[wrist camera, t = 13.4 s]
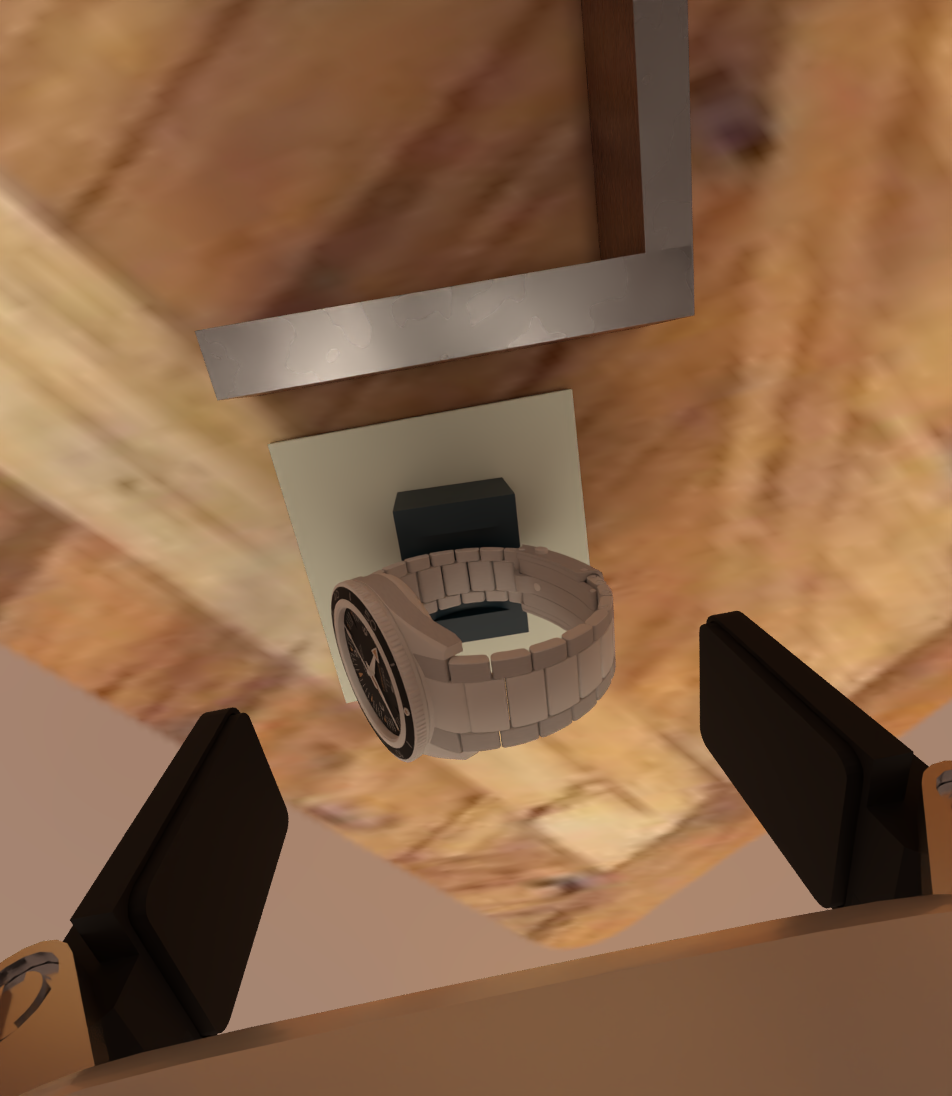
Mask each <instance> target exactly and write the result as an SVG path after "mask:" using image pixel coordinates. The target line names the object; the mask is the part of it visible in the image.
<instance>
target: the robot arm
mask: <svg viewBox="0 0 952 1096" xmlns="http://www.w3.org/2000/svg"><path fill="white" fill-rule="evenodd" d="M699 642H700V731H701V736H702V739H703V741H704V743H705V745H706V747H707V748H708V750H709V751H710V753H711V754H712V755H713V757H714V758H715V760H716V761H717V762H718V764H719V765H720V767H721V768H722V769H723V771H724V772H725V774H726V775H727V776H728V778H729V779H730V781H731V782H732V783H733V785H734V786H735V788H736V789H737V790H738V792H739V793H740V795H741V796H742V797H743V799H744V800H745V802H746V803H747V804H748V806H749V807H750V809H751V810H752V811H753V813H754V814H755V816H756V817H757V818H758V820H759V821H760V823H761V824H762V825H763V827H764V828H765V830H766V831H767V832H768V834H769V835H770V837H771V838H772V839H773V841H774V842H775V844H776V845H777V846H778V848H779V849H780V851H781V852H782V854H783V855H784V856H785V858H786V859H787V861H788V862H789V863H790V865H791V866H792V867H793V869H794V870H795V871H796V873H797V874H798V876H799V877H800V879H801V880H802V882H803V883H804V884H805V886H806V887H807V888H808V890H809V891H810V893H811V894H812V896H813V897H814V898H815V899H816V900H817V902H818V903H819V904H820V905H821V906H822V907H824V908H832V910H826V911H821V912H815V913H809V914H804V915H799V916H792V917H787V918H781V919H776V920H770V921H766V922H760V923H755V924H751V925H745V926H741V927H735V928H730V929H725V930H720V931H716V932H710V933H705V934H700V935H695V936H690V937H685V938H680V939H675V940H670V941H665V942H660V943H655V944H650V945H645V946H640V947H635V948H630V949H625V950H620V951H615V952H610V953H605V954H600V955H595V956H590V957H585V958H580V959H576V960H571V961H566V962H561V963H556V964H551V965H547V966H541V967H537V968H532V969H527V970H522V971H517V972H512V973H507V974H502V975H497V976H493V977H488V978H483V979H478V980H473V981H469V982H464V983H459V984H454V985H449V986H444V987H440V988H434V989H430V990H425V991H420V992H415V993H411V994H406V995H401V996H396V997H392V998H387V999H382V1000H377V1001H373V1002H368V1003H364V1004H358V1005H354V1006H349V1007H344V1008H340V1009H335V1010H330V1011H326V1012H321V1013H316V1014H311V1015H307V1016H302V1017H298V1018H293V1019H288V1020H283V1021H278V1022H274V1023H269V1024H264V1025H260V1026H255V1027H250V1028H246V1029H242V1030H237V1031H233V1032H228V1033H224V1034H220V1035H217V1034H218V1033H222V1032H223V1031H224V1030H225V1028H226V1027H227V1025H228V1023H229V1020H230V1018H231V1014H232V1011H233V1007H234V1004H235V1001H236V998H237V994H238V991H239V988H240V985H241V981H242V978H243V975H244V971H245V968H246V965H247V961H248V958H249V955H250V952H251V948H252V945H253V941H254V938H255V935H256V931H257V928H258V925H259V922H260V919H261V915H262V912H263V909H264V905H265V902H266V899H267V895H268V892H269V889H270V885H271V882H272V879H273V875H274V872H275V869H276V865H277V862H278V859H279V856H280V852H281V849H282V846H283V843H284V839H285V835H286V833H287V829H288V812H287V808H286V806H285V803H284V801H283V798H282V796H281V794H280V791H279V789H278V786H277V784H276V781H275V779H274V776H273V774H272V771H271V769H270V767H269V764H268V762H267V759H266V757H265V754H264V752H263V749H262V747H261V744H260V742H259V739H258V737H257V735H256V732H255V730H254V727H253V725H252V722H251V720H250V718H249V716H248V715H247V714H246V713H240V712H239V710H238V709H236V708H233V707H232V708H227V709H222V710H217V711H212V712H206V713H204V714H203V715H202V716H201V717H200V718H199V720H198V721H197V723H196V724H195V726H194V727H193V729H192V730H191V732H190V734H189V735H188V737H187V738H186V740H185V741H184V743H183V745H182V746H181V748H180V749H179V751H178V752H177V754H176V756H175V757H174V759H173V760H172V762H171V763H170V765H169V766H168V768H167V769H166V771H165V773H164V774H163V776H162V777H161V779H160V780H159V782H158V784H157V785H156V787H155V788H154V790H153V791H152V793H151V795H150V796H149V798H148V799H147V801H146V802H145V804H144V805H143V807H142V808H141V810H140V812H139V813H138V815H137V816H136V818H135V819H134V821H133V823H132V824H131V826H130V827H129V829H128V830H127V832H126V833H125V835H124V837H123V838H122V840H121V841H120V843H119V844H118V846H117V847H116V849H115V850H114V852H113V854H112V855H111V857H110V858H109V860H108V861H107V863H106V865H105V866H104V868H103V869H102V871H101V872H100V874H99V876H98V877H97V879H96V880H95V882H94V883H93V885H92V886H91V888H90V890H89V891H88V893H87V894H86V896H85V897H84V899H83V900H82V902H81V904H80V905H79V907H78V908H77V910H76V911H75V913H74V915H73V916H72V918H71V919H70V921H71V922H72V924H73V926H72V928H71V929H70V931H69V933H68V934H67V936H66V937H65V939H64V941H63V942H62V941H59V940H50V941H42V942H39V943H37V944H34V945H31V946H29V947H26V948H24V949H22V950H21V951H19V952H17V953H15V954H14V955H12V956H10V957H8V958H7V959H5V960H4V961H3V962H1V963H0V1096H952V761H942V762H939V763H936V764H932V765H931V766H930V767H929V766H927V765H926V764H925V763H924V762H922V761H921V760H920V759H919V758H918V757H916V756H915V755H914V754H913V751H911V749H909V748H908V747H907V746H906V745H904V744H903V743H902V742H901V741H899V740H898V739H897V738H896V737H895V736H893V735H892V734H891V733H890V732H888V731H887V730H886V729H885V728H883V727H882V726H881V725H880V724H879V723H877V722H876V721H875V720H874V719H872V718H871V717H870V716H869V715H867V714H866V713H865V712H864V711H863V710H861V709H860V708H859V707H858V706H856V705H855V704H854V703H853V702H851V701H850V700H849V699H848V698H847V697H845V696H844V695H843V694H842V693H840V692H839V691H838V690H837V689H835V688H834V687H833V686H832V685H830V684H829V683H828V682H827V681H826V680H824V679H823V678H822V677H821V676H819V675H818V674H817V673H816V672H814V671H813V670H812V669H811V668H810V667H808V666H807V665H806V664H805V663H803V662H802V661H801V660H800V659H798V658H797V657H796V656H795V655H794V654H792V653H791V652H790V651H789V650H787V649H786V648H785V647H784V646H782V645H781V644H780V643H779V642H778V641H776V640H775V639H774V638H773V637H771V636H770V635H769V634H768V633H766V632H765V631H764V630H763V629H762V628H760V627H759V626H758V625H757V624H755V623H754V622H753V621H752V620H750V619H749V618H748V617H747V616H746V615H744V614H743V613H741V612H740V611H733V612H728V613H722V614H717V615H712V616H710V617H708V619H707V622H706V624H703V625H701V627H700V632H699Z"/></svg>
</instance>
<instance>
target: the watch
mask: <svg viewBox="0 0 952 1096" xmlns="http://www.w3.org/2000/svg"><path fill="white" fill-rule="evenodd" d="M393 517H394V522H395V528H396V533H397V538H398V544H399V549H400V554H401V560H402V561H400V562H397V563H394V564H391V565H388V566H386V567H383V568H382V570H378V571H376V572H373V573H371V574H369V575H368V576H365V577H362V576H359V577H356V578H353V579H350V580H346V581H343V582H340V583H338V584H336V585H335V587H334V589H333V592H332V598H331V615H332V623H333V629H334V634H335V639H336V643H337V647H338V650H339V654H340V657H341V660H342V663H343V666H344V669H345V672H346V674H347V677H348V680H349V682H350V685H351V687H352V689H353V692H354V694H355V696H356V698H357V701H358V703H359V705H360V707H361V709H362V711H363V712H364V714H365V716H366V718H367V720H368V722H369V723H370V725H371V727H372V728H373V730H374V731H375V733H376V734H377V736H378V737H379V739H380V740H381V741H382V743H383V744H384V745H385V746H386V747H387V748H388V750H389V751H390V752H391V753H392V754H394V755H395V756H396V757H397V758H398V759H400V760H402V761H404V762H412V761H413V760H415V759H417V758H419V757H420V756H421V755H422V754H424V755H429V756H433V757H438V758H445V759H459V760H467V759H468V758H470V757H471V756H473V755H475V754H476V753H478V751H486V750H492V749H497V748H500V746H501V743H500V736H499V731H500V734H501V741H502V746H503V747H505V748H506V747H511V746H516V745H520V744H524V743H527V742H530V741H533V740H536V739H538V738H539V735H540V736H541V737H546V736H548V735H550V734H553V733H555V732H557V731H559V730H561V729H563V728H564V727H566V726H568V725H569V724H571V723H572V720H573V721H576V720H578V719H579V718H581V717H582V716H583V715H585V714H586V713H587V712H588V711H589V710H591V709H592V708H593V707H594V706H595V704H596V703H597V700H599V699H600V698H601V697H602V696H603V695H604V693H605V692H606V691H607V689H608V687H609V685H610V684H611V679H612V678H613V676H614V672H615V635H614V610H613V597H612V591H611V589H610V587H609V586H608V585H607V584H606V582H605V581H604V579H603V575H602V572H600V571H599V570H597V569H595V568H593V567H591V566H589V565H587V564H585V563H583V562H581V561H579V560H576V559H574V558H571V557H569V556H566V555H563V554H560V553H557V552H554V551H550V550H548V548H546V547H542V546H538V547H534V546H530V545H525V544H522V547H520V538H519V529H518V519H517V509H516V499H515V493H514V492H513V491H512V489H511V488H510V487H509V485H508V484H507V483H506V482H505V480H504V479H503V478H502V477H500V478H493V479H486V480H479V481H472V482H465V483H458V484H451V485H444V486H438V487H431V488H424V489H417V490H410V491H403V492H397V495H396V499H395V503H394V508H393ZM527 613H530V614H533V615H535V616H538V617H540V618H543V619H545V620H547V621H549V622H551V623H553V624H555V625H557V626H559V627H561V628H562V629H564V630H565V631H567V632H565V633H563V634H562V639H561V638H552V639H549V640H547V641H544V642H541V643H537V644H534V645H531V646H530V647H529V651H528V650H527V649H525V648H520V649H515V650H509V651H502V652H496V653H493V654H492V655H491V657H490V658H491V666H492V673H491V669H490V661H489V658H488V656H486V655H464V656H455V655H456V654H458V653H460V652H462V651H463V648H462V643H464V642H471V641H477V640H483V639H489V638H496V637H502V636H508V635H514V634H521V633H527V632H529V626H528V617H527ZM504 678H505V680H504ZM505 682H506V688H505ZM506 690H507V696H506ZM507 698H508V704H507ZM508 707H509V712H508ZM509 715H510V720H509Z"/></svg>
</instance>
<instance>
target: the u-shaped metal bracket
mask: <svg viewBox="0 0 952 1096" xmlns="http://www.w3.org/2000/svg"><path fill="white" fill-rule="evenodd" d="M581 6H582V20H583V33H584V46H585V59H586V72H587V85H588V98H589V111H590V124H591V137H592V151H593V164H594V177H595V190H596V203H597V216H598V229H599V242H600V255H601V261H595V262H589V263H584V264H578V265H572V266H566V267H561V268H555V269H549V270H543V271H537V272H532V273H526V274H520V275H514V276H509V277H503V278H497V279H491V280H486V281H480V282H474V283H468V284H463V285H457V286H451V287H445V288H440V289H434V290H428V291H422V292H416V293H411V294H405V295H399V296H393V297H388V298H382V299H376V300H370V301H365V302H359V303H353V304H347V305H342V306H336V307H330V308H324V309H319V310H313V311H307V312H301V313H295V314H290V315H284V316H278V317H272V318H267V319H261V320H255V321H249V322H244V323H238V324H232V325H226V326H221V327H215V328H209V329H203V330H198V331H195V333H196V336H197V339H198V342H199V345H200V348H201V352H202V355H203V358H204V361H205V364H206V367H207V370H208V373H209V376H210V379H211V382H212V385H213V388H214V391H215V394H216V397H217V400H225V399H234V398H243V397H252V396H260V395H266V394H271V393H277V392H283V391H288V390H294V389H299V388H305V387H311V386H316V385H322V384H327V383H333V382H338V381H344V380H350V379H355V378H361V377H366V376H372V375H378V374H383V373H389V372H394V371H400V370H406V369H411V368H417V367H422V366H428V365H434V364H439V363H445V362H450V361H456V360H461V359H467V358H473V357H478V356H484V355H489V354H495V353H501V352H506V351H512V350H517V349H523V348H529V347H534V346H540V345H545V344H551V343H557V342H562V341H568V340H573V339H579V338H585V337H590V336H596V335H601V334H607V333H612V332H618V331H624V330H629V329H635V328H640V327H645V326H650V325H654V324H658V323H663V322H667V321H671V320H676V319H680V318H684V317H688V316H693V315H694V269H693V224H692V179H691V134H690V89H689V44H688V0H581Z"/></svg>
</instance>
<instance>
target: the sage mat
mask: <svg viewBox="0 0 952 1096" xmlns="http://www.w3.org/2000/svg"><path fill="white" fill-rule="evenodd" d="M268 448H269V451H270V454H271V458H272V461H273V464H274V467H275V471H276V474H277V477H278V481H279V484H280V487H281V490H282V494H283V497H284V500H285V504H286V507H287V510H288V513H289V517H290V520H291V523H292V527H293V530H294V533H295V536H296V540H297V543H298V546H299V550H300V553H301V556H302V559H303V563H304V566H305V569H306V573H307V576H308V579H309V582H310V586H311V589H312V592H313V596H314V599H315V602H316V605H317V609H318V612H319V615H320V619H321V622H322V625H323V628H324V632H325V635H326V638H327V642H328V645H329V648H330V651H331V655H332V658H333V661H334V665H335V668H336V671H337V674H338V678H339V681H340V684H341V688H342V691H343V694H344V697H345V701H346V703H349V702H354V701H357V698H356V696H355V694H354V692H353V689H352V687H351V685H350V682H349V680H348V677H347V674H346V672H345V669H344V666H343V663H342V660H341V657H340V654H339V650H338V647H337V643H336V639H335V634H334V629H333V623H332V615H331V598H332V592H333V589H334V587H335V585H336V584H338V583H340V582H343V581H346V580H350V579H353V578H356V577H359V576H362V577H365V576H368V575H369V574H371V573H373V572H376V571H378V570H382V568H383V567H386V566H388V565H391V564H394V563H397V562H400V561H402V560H401V554H400V549H399V544H398V538H397V533H396V528H395V522H394V517H393V508H394V503H395V499H396V495H397V492H403V491H410V490H417V489H424V488H431V487H438V486H444V485H451V484H458V483H465V482H472V481H479V480H486V479H493V478H500V477H502V478H503V479H504V480H505V482H506V483H507V484H508V485H509V487H510V488H511V489H512V491H513V492H514V493H515V499H516V509H517V519H518V529H519V538H520V547H522V544H525V545H530V546H534V547H538V546H542V547H546V548H548V550H550V551H554V552H557V553H560V554H563V555H566V556H569V557H571V558H574V559H576V560H579V561H581V562H583V563H585V564H587V565H589V566H590V562H589V553H588V543H587V533H586V523H585V513H584V503H583V493H582V483H581V473H580V463H579V453H578V443H577V433H576V424H575V414H574V404H573V394H572V389H564V390H559V391H553V392H548V393H542V394H537V395H531V396H526V397H520V398H515V399H509V400H504V401H498V402H493V403H487V404H482V405H476V406H471V407H465V408H460V409H454V410H449V411H443V412H438V413H432V414H427V415H421V416H416V417H410V418H405V419H399V420H394V421H388V422H383V423H378V424H372V425H367V426H361V427H356V428H350V429H345V430H339V431H334V432H328V433H323V434H317V435H312V436H306V437H301V438H295V439H290V440H284V441H279V442H273V443H270V444H268ZM527 617H528V626H529V632H527V633H521V634H514V635H508V636H502V637H496V638H489V639H483V640H477V641H471V642H464V643H462V648H463V651H462V652H460V653H458V654H456V655H455V656H464V655H486V656H488V658H489V661H490V669H491V673H492V666H491V658H490V657H491V655H492V654H493V653H496V652H502V651H509V650H515V649H520V648H525V649H527V650H528V651H529V647H530V646H531V645H534V644H537V643H541V642H544V641H547V640H549V639H552V638H561V639H562V634H563V633H565V632H567V631H565V630H564V629H562V628H561V627H559V626H557V625H555V624H553V623H551V622H549V621H547V620H545V619H543V618H540V617H538V616H535V615H533V614H530V613H527Z"/></svg>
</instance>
